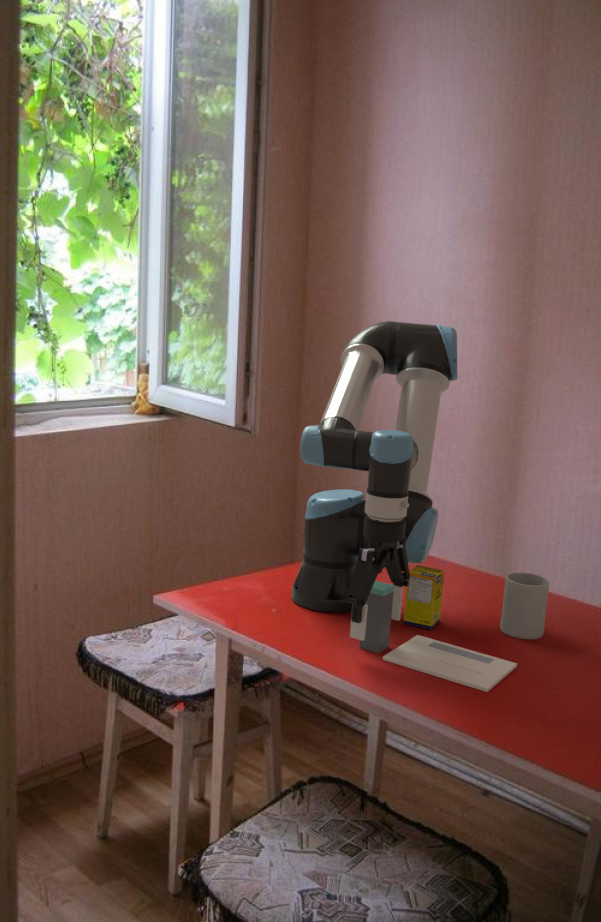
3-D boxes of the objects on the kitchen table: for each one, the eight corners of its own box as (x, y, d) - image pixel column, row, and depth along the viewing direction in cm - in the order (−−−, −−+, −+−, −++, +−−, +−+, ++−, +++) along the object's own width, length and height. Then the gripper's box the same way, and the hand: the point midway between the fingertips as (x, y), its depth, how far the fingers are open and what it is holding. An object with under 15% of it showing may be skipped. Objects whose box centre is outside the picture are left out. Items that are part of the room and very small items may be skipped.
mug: (551, 639, 187) (557, 585, 185) (511, 640, 185) (517, 586, 183) (523, 617, 198) (529, 566, 196) (485, 618, 196) (491, 566, 194)
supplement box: (440, 621, 192) (445, 569, 190) (431, 630, 187) (436, 577, 185) (412, 615, 195) (417, 564, 193) (402, 624, 189) (407, 571, 187)
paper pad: (382, 659, 171) (382, 656, 171) (417, 637, 183) (417, 634, 183) (487, 692, 161) (487, 688, 161) (516, 666, 172) (517, 663, 172)
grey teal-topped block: (358, 647, 176) (364, 585, 174) (369, 641, 179) (374, 580, 177) (378, 653, 174) (383, 591, 171) (388, 647, 177) (394, 585, 175)
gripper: (370, 534, 159) (359, 653, 164) (434, 509, 180) (423, 615, 184) (331, 525, 163) (322, 641, 167) (398, 501, 184) (389, 606, 188)
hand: (375, 628), depth 176 cm, fingers open, 13 cm apart
